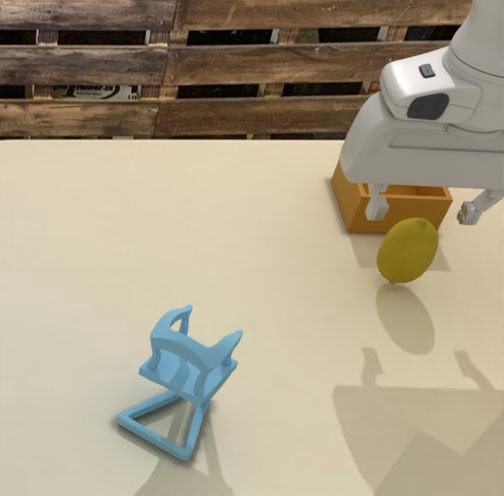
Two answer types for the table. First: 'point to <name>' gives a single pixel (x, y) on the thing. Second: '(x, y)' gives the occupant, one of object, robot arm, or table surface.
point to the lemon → (407, 250)
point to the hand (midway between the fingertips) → (419, 219)
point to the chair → (181, 376)
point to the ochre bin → (399, 200)
